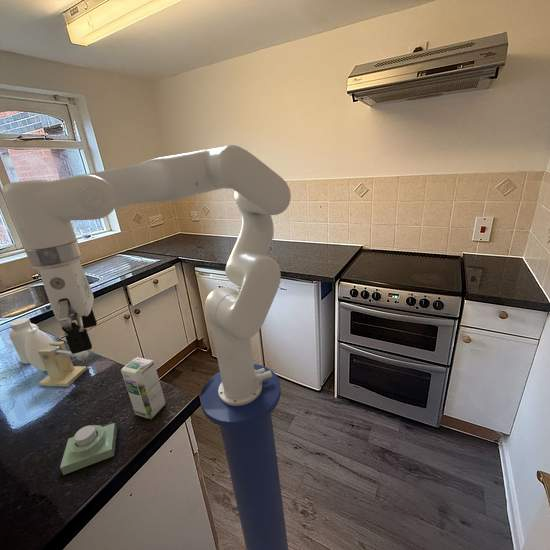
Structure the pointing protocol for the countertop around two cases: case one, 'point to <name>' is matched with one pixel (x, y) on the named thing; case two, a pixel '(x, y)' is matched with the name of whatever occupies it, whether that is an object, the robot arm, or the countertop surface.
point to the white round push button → (85, 436)
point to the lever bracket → (59, 367)
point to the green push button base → (89, 449)
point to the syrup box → (143, 387)
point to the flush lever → (69, 353)
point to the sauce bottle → (36, 347)
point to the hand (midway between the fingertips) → (85, 338)
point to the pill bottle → (20, 336)
